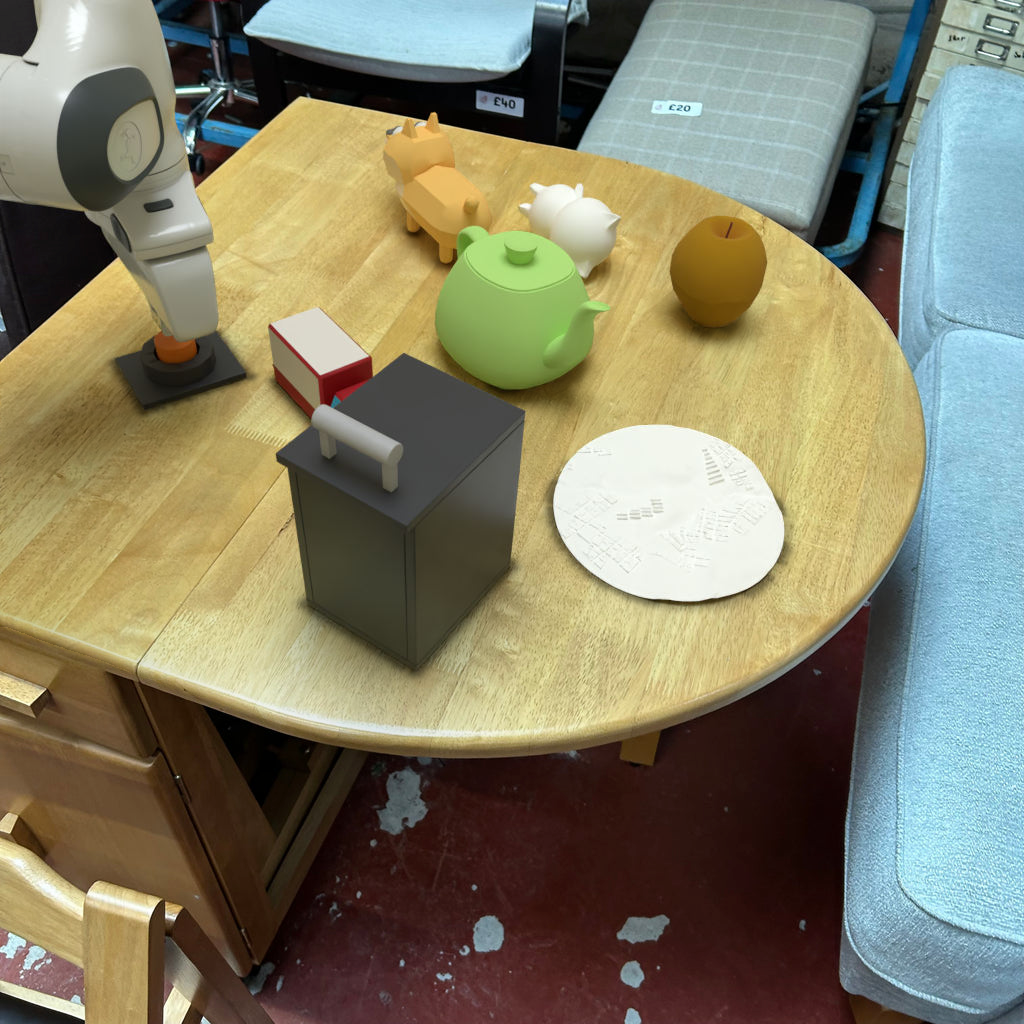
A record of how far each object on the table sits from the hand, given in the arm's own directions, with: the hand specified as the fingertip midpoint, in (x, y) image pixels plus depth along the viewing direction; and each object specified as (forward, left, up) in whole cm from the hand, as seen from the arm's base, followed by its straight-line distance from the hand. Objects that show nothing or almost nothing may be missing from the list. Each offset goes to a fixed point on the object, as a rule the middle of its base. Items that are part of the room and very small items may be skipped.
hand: (168, 327), depth 88 cm
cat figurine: (+43, -19, -5) cm, 47 cm away
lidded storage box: (-8, -34, -5) cm, 35 cm away
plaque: (+12, -47, -5) cm, 49 cm away
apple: (+41, -37, -5) cm, 55 cm away
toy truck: (+5, -16, -5) cm, 18 cm away
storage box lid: (-8, -34, +11) cm, 37 cm away
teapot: (+22, -25, -5) cm, 34 cm away
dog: (+36, -4, -5) cm, 36 cm away
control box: (0, 0, -5) cm, 5 cm away
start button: (0, 0, -3) cm, 3 cm away
